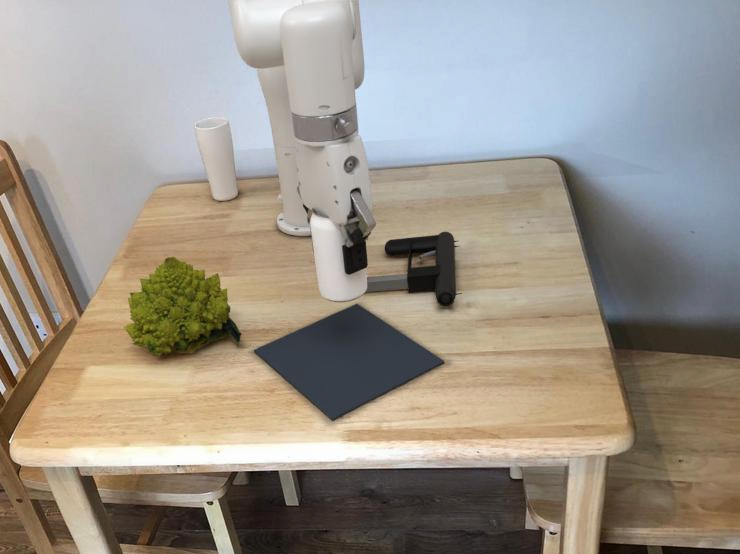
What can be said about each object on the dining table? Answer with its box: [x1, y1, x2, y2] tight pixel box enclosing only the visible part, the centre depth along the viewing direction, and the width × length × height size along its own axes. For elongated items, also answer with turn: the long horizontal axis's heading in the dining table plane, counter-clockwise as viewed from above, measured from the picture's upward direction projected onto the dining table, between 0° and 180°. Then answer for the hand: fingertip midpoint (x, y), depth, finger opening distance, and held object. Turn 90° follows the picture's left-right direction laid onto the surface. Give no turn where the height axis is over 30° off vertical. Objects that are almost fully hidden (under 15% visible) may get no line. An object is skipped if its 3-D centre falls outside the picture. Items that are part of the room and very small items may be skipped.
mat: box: [253, 303, 445, 422], centre depth 104 cm, size 20×18×1 cm
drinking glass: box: [193, 116, 239, 202], centre depth 149 cm, size 7×7×15 cm
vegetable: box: [123, 256, 242, 357], centre depth 110 cm, size 15×16×15 cm
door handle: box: [364, 231, 463, 308], centre depth 119 cm, size 3×20×16 cm
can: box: [310, 208, 368, 303], centre depth 97 cm, size 6×6×12 cm
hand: (340, 259), depth 98 cm, fingers closed on can, 6 cm apart
